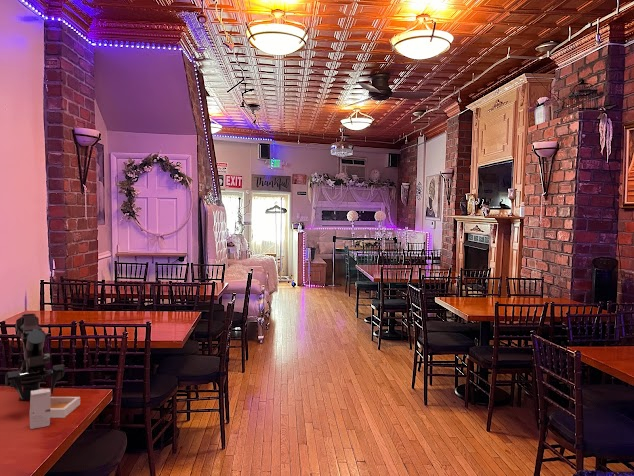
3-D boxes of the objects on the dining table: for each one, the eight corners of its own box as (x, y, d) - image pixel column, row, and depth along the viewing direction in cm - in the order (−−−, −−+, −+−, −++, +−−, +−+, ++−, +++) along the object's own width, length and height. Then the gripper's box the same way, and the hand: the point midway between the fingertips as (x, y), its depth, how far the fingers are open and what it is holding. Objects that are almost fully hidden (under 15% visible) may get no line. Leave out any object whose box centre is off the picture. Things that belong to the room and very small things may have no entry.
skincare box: (30, 429, 160) (30, 394, 160) (29, 424, 164) (29, 390, 163) (50, 425, 163) (51, 391, 163) (49, 421, 167) (49, 387, 167)
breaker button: (50, 406, 180) (50, 403, 180) (70, 406, 180) (70, 403, 180) (39, 414, 172) (39, 411, 172) (61, 414, 172) (61, 411, 172)
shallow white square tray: (47, 404, 182) (47, 396, 182) (80, 404, 183) (80, 396, 182) (29, 417, 170) (29, 409, 169) (64, 417, 170) (64, 409, 170)
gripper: (5, 350, 168) (7, 390, 159) (64, 343, 179) (68, 380, 170) (5, 366, 174) (6, 405, 166) (61, 358, 185) (65, 394, 177)
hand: (37, 395), depth 169 cm, fingers open, 9 cm apart
